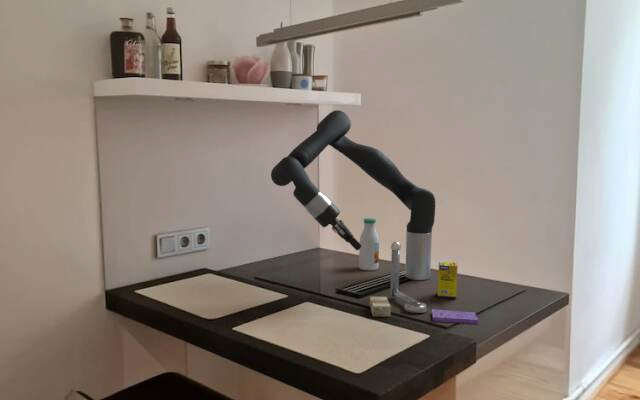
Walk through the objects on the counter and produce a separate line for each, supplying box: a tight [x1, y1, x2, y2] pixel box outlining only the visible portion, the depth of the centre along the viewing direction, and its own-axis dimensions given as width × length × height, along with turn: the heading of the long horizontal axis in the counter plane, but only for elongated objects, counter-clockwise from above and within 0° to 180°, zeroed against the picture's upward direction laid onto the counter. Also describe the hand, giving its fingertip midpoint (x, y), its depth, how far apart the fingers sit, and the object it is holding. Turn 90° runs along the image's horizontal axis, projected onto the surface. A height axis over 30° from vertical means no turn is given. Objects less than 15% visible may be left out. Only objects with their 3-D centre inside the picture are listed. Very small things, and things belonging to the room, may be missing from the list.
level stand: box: [369, 296, 392, 318], centre depth 164 cm, size 11×5×3 cm, turn 1°
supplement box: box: [436, 261, 458, 300], centre depth 182 cm, size 6×6×11 cm
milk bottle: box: [358, 217, 380, 271], centre depth 219 cm, size 8×8×20 cm
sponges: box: [431, 308, 479, 325], centre depth 160 cm, size 7×13×2 cm, turn 81°
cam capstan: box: [389, 241, 427, 314], centre depth 171 cm, size 18×6×18 cm, turn 21°
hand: (359, 248), depth 177 cm, fingers closed
